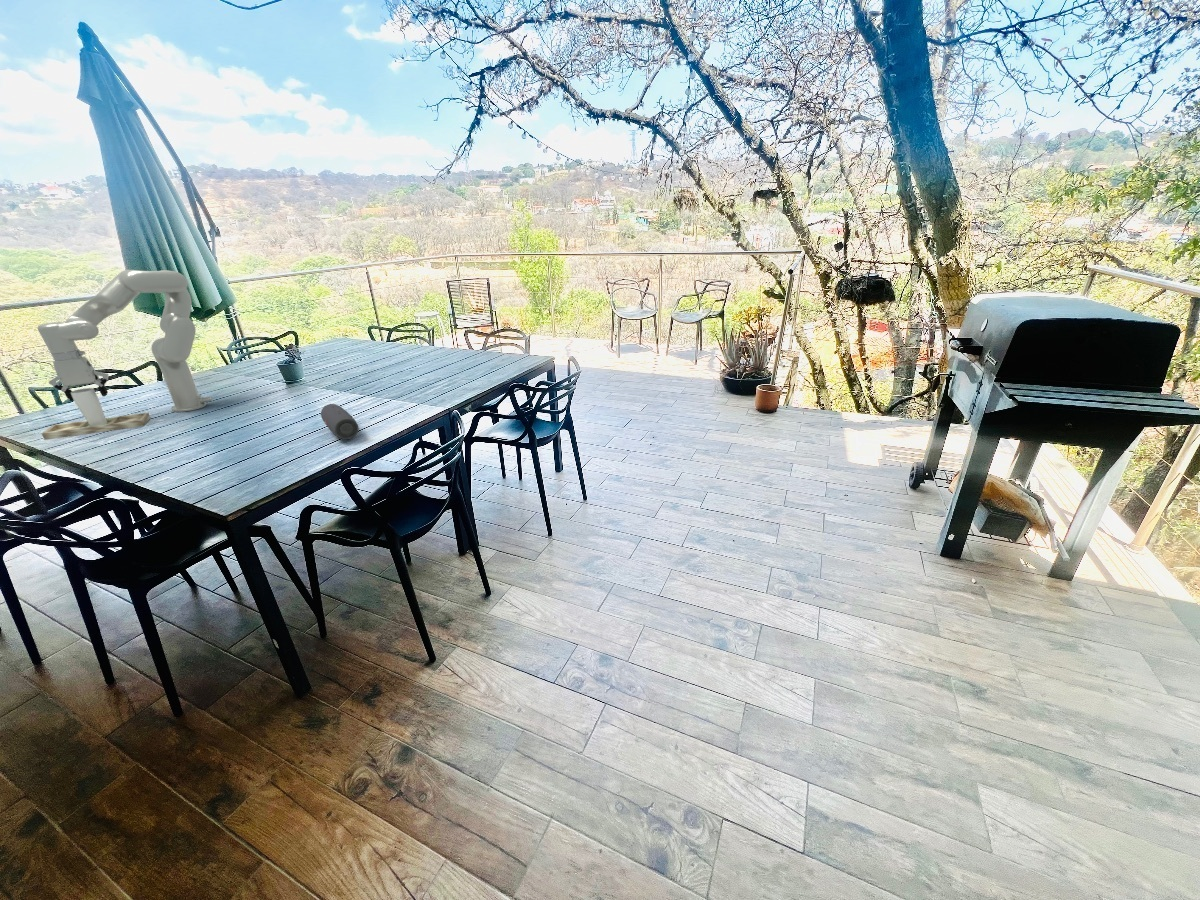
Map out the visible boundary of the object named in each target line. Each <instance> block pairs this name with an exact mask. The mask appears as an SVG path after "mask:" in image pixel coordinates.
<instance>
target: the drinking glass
mask: <svg viewBox="0 0 1200 900" xmlns="http://www.w3.org/2000/svg"><path fill="white" fill-rule="evenodd" d="M71 391H72V392H70V393H71V396H72V398H73V401H74V403H75V405H76V406H77V408H78V410H79V411H80V413H81V414H82V416H83V418H84V419H85V421H87V422H88V424H89V426H97V425H105V424H107V423H108V422H107V420H106V418H107V417H106V415H105V413H104V410H103V407H102V404H101V401H100V399H99V397H98V395H97V392H96V391H95V389H94V388H92V387H86V388H85V387H84V388H79V389H75V390H71Z"/></svg>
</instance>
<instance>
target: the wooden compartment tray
mask: <svg viewBox="0 0 1200 900" xmlns="http://www.w3.org/2000/svg"><path fill="white" fill-rule="evenodd" d="M105 418H106V420H107V422H108V423H107V424H105V425H97V426H89V424H88V422H87V420H82V421H73V422H66V423H59V424H58V423H56V424H53V425H51V426H50V427H48V428H47V429H46V430H45V431H43V432H42V433H41V436H42V438H43V440H53V439H59V438H65V437H67V438H68V437H73V436H79V435H80V434H81V435H88V434H95V432H96V433H102V432H109V431H118V430H125V429H132V428H137V427H144V426H145V425H146V424H147V423H148V422H149V420H150V419H151V415H150V413H149V412H142V413H135V414H127V415H119V416H111V417H105Z"/></svg>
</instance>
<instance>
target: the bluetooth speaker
mask: <svg viewBox="0 0 1200 900" xmlns="http://www.w3.org/2000/svg"><path fill="white" fill-rule="evenodd" d="M320 417H321V419H322V421H323V423H324V424H325V425H326V427H327V428H328V429H329V431H331V433H333V434H334V435H335V436H336V437H338V438H340V439H342V440H351V439H353V438H355V437H356V436H357V434H358V433H359V430H360V428H359V424H358V422H357V420H355V418H354V417H353V416H352V415H351V414H350V413H349V412H348V411H347V410H346V409H345V408H344V407H342V406H340V405H338V404H337V403H328V404H326V405H324V406H323V408H322V409H321V410H320Z"/></svg>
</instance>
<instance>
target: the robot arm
mask: <svg viewBox="0 0 1200 900" xmlns="http://www.w3.org/2000/svg"><path fill="white" fill-rule="evenodd" d="M188 284H189V283H188V279H187V278H186V277H185V275H183V274H182V273H180V272H179V271H175V270H168V269H161V270H137V269H124V270H122V271H120V272H119V273H118V274H117V275H116V276H115V277H113V278H112V279H111V281H110V282H108V284H107V285H106V286H104V287H103V288H102V289H101V290H100V291H99V292H98V293H97V294H96V295H94V296H92V297H91V298H90V299H89V300H87V301H86V302H85V303H84V304H82V305H81V306H80V307H78V309H77V310H75V311H74V313H72V314H71V315H70V316H69V317H68V318H67V319H66V321H65V322H57V321H56V322H46V323H42V324H38V326H37V330H38V333H39V335H40V336H41V338H42V339H43V342H44V343H45V346H46V348H47V349H48V351H49V353H50V355H51V356H52V358H53V361H52V364H53V367H54V371H55V372H56V376H55V377H54V378H52V379H51V380H48V384H50V385H51V386H53V387H54V388H55V389H57V390H60V391H61V392H63V393H64V395H65V397H66V398H67V399H68V400H69V401H70V402H72V401H74V400H73V398H72V396H71V393H70V392H72V391H73V390H72V389H70V387H73V386H81V385H89V384H94V385H96V386H98V387H97V389H98V391H99V392H100V395H101V396H102V397H106V396H107V395H108V390H107V388H106V386H105V385H106V383H107V382H108V379H109V374H108V373H106V372H102V371H96V370H95V368H94V366H93V365H92V363H91V362H90V360H89V359H88V358H87V357H86V356H83V355H86V351H85V350H80V349H79V347H78V346H77V344H76V341H84V340H85V341H87V340H93V339H94V338H97V336H98V335H99V328H98V326H99V324H100V323H102V321H104V320H105V319H107V318H108V317H110V316H112V315H115V314H117V313H120V312H121V311H123V310H124V309H126V307H128V305H129V304H131V302H132V301H134V299H135V298H137V297H138V296H139V295H140V294H142V293H144V294H161V293H162V294H163V293H164V297H165V301H164V307H163V310H162V315H161V318H160V322H159V327H160V330H161V331H162V332H163V333H164V337H160V338H157V339H155V340H154V341H153V342H152V344H151V352H152V355H153V357H154V359H155V361H156V362H157V365H158V367H159V368H160V372H161V373H162V377H163V380H164V382H165V384H166V386H167V389H168V392H169V393H170V394H169V395H170V396H171V397H170V398H171V400H172V402H173V406H172V407H171V408H170V409H171V411H172V412H176V413H181V412H183V413H184V412H191V411H196V410H198V409H203V408H205V407H206V406H207V403H209V402H213V397H212V396H206V397H204V396H202V394H199V392H198V390H197V389H198V388H197V386H196V383H195V380H194V377H193V375H192V372H191V369H190V367H189V365H188V362H187V360H188V359H189V357H190V355H191V352H192V347H193V344H194V340H195V337H196V332H197V331H196V325H195V323H194V322H193V321H192V320H191V319H190V316H191V310H192V302H193V301H192V296H191V294H190V292H189V290H188V286H189V285H188ZM100 377H102V380H100ZM58 381H59V382H60V383H61V384H59V383H57V382H58Z"/></svg>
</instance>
